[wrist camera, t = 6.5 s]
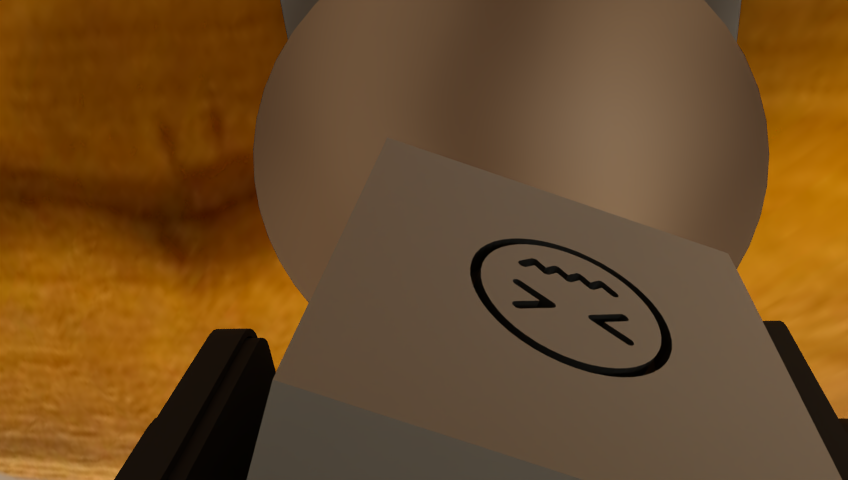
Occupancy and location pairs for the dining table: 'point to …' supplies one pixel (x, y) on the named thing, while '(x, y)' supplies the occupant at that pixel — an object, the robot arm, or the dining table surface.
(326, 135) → the bobbin
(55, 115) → the dining table surface
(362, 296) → the dice cube
